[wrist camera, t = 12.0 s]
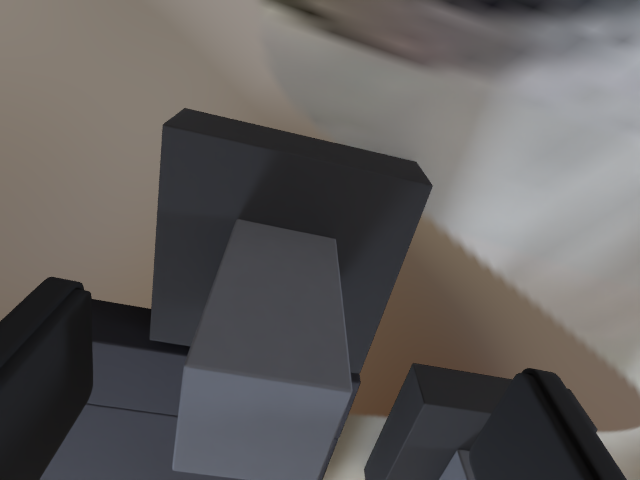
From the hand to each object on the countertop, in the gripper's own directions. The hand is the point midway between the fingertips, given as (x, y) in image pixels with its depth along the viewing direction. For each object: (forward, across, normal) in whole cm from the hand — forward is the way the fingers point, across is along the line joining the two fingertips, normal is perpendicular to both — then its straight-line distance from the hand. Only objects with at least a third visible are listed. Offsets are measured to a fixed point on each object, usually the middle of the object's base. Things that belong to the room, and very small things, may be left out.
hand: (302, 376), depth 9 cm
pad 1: (+6, +1, +1) cm, 6 cm away
